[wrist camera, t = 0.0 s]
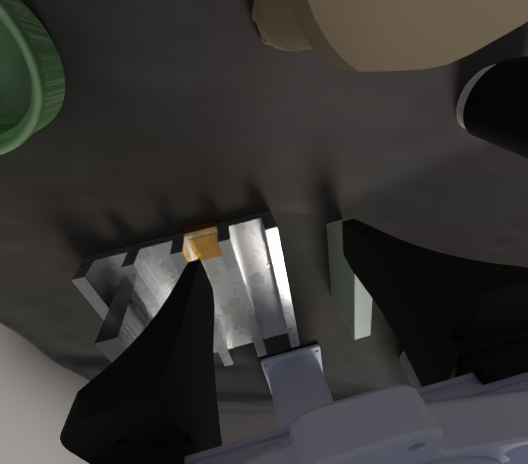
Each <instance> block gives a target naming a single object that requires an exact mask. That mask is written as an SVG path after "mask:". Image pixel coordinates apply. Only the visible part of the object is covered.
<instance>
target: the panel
mask: <svg viewBox="0 0 528 464" xmlns="http://www.w3.org/2000/svg"><path fill="white" fill-rule="evenodd" d="M342 222H343V220H339V221H335V222H331V223H327V224H326V228H327V242H328V256H329V271H330V285H331V296H332V298H333V300H334V302H335V304H336V306H337V307H338V309H339V311H340V313H341V315H342V317H343V319H344V321H345V322H346V324H347V326H348V328H349V330H350V332H351V334H352V336H353V337H354V339H359V338H362V337H366V336H369V335H370V331H371V313H372V297H371V296H370V294H369V293H368V292H367V290H366V289H365V288H364V286H363V285H362V283H361V282H360V281H359V279H358V278H357V277H356V275H355V274H354V272H353V271H352V269H351V268H350V266H349V264H348V262H347V260H346V258H345V256H344V255H343V234H342Z"/></svg>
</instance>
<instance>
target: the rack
mask: <svg viewBox="0 0 528 464" xmlns="http://www.w3.org/2000/svg"><path fill="white" fill-rule="evenodd" d="M197 259H201V261H202V264H203V266H204V269H205V271H206V273H207V276H208V278H209V280H210V283H211V285H212V288H213V295H214V305H215V314H214V346H213V353H216V352H218V353H219V355H220V357H221V359H222V361H223V363H224V365H225V366H229V365H232V364H234V359H233V348H234V347H238V346H241V345H245V344H249V343H252V342H253V343H254V346H255V349H256V351H257V354H258V357H261V356H264V355H267V351H266V346H265V341H264V339H267V338H270V337H274V336H278V335H281V334H285V333H287V334H288V338H289V341H290V344H291V348H293V347H297V346H300V342H299V337H298V332H297V326H296V321H295V316H294V311H293V306H292V301H291V295H290V290H289V285H288V280H287V275H286V269H285V264H284V259H283V254H282V249H281V243H280V238H279V233H278V228H277V225H276V223H275V220H274V218H273V216H272V213H271V211H270V210H267V211H263V212H259V213H256V214H252V215H248V216H244V217H240V218H236V219H232V220H228V221H224V222H220V223H217V222H216V221H212V222H208V223H204V224H200V225H196V226H192V227H188V228H184V232H181V233H177V234H173V235H169V236H165V237H161V238H158V239H154V240H150V241H146V242H142V243H138V244H134V245H130V246H126V247H122V248H118V249H114V250H110V251H107V252H103V253H99V254H95V255H91V256H87V257H86V258H85V260H84V261H83V263H82V265H81V266H80V268H79V269H78V271H77V272H76V274H75V275H74V277H73V278H72V282H73V283H74V284H75V285H76V287H77V288H78V289H79V290H80V291H81V293H82V294H83V295H84V296H85V298H86V299H87V300H88V301H89V303H90V304H91V305H92V306H93V307H94V309H95V310H96V311H97V312H98V314H99V315H100V316H101V317H102V318H103V320H104V322H103V324H102V327H101V329H100V332H99V334H98V336H97V339H96V341H95V345H96V346H97V347H98V348H99V349H100V350H101V351H102V353H103V354H104V355H105V356H106V357H107V358H108V359H109V360H110V361H111V362H113V361H114V360H115V359H116V358H118V357H119V356H120V355H121V354H122V353H123V352H124V351H125V350H126V349H127V348H128V347H129V346H130V344H131V343H132V342H133V341H134V340H135V339H136V338H137V337H138V336H139V335H140V334H141V332H142V331H143V330H144V329H145V328H146V327H147V325H148V324H149V323H150V322H151V320H152V319H153V318H154V317H155V315H156V314H157V313H158V311H159V310H160V308H161V307H162V305H163V304H164V302H165V301H166V299H167V298H168V296H169V295H170V293H171V291H172V289H173V288H174V286H175V284H176V283H177V281H178V279H179V277H180V275H181V274H182V272H183V270H184V268H185V266H186V265H187V263H188V262H190V261H194V260H197Z"/></svg>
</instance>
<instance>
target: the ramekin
mask: <svg viewBox="0 0 528 464" xmlns="http://www.w3.org/2000/svg"><path fill="white" fill-rule="evenodd" d="M64 96H65V75H64V70H63V65H62V62H61V59H60V56H59V53H58V51H57V49H56V47H55V44H54V43H53V41H52V39H51V37H50V36H49V34H48V32H47V31H46V29H45V28H44V26H43V25H42V24H41V22H40V21H39V19H38V18H37V17H36V16H35V15H34V13H33V12H32V11H31V10H30V9H29V8H28V7H27V6H26V5H25V4H24V3H23V2H22V1H21V0H0V155H2V154H5V153H7V152H9V151H12V150H13V149H15V148H17V147H18V146H20V145H21V144H23V143H24V142H25V141H26V140H27V139H28V138H29V137H30V136H31V135H32V134H33V133H35V132H37V131H38V130H40V129H41V128H43V127H45V126H46V125H48V124H49V123H50V122H51V121H52V120H53V119H54V118H55V116H56V115H57V114H58V113H59V111H60V109H61V107H62V104H63V101H64Z"/></svg>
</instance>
